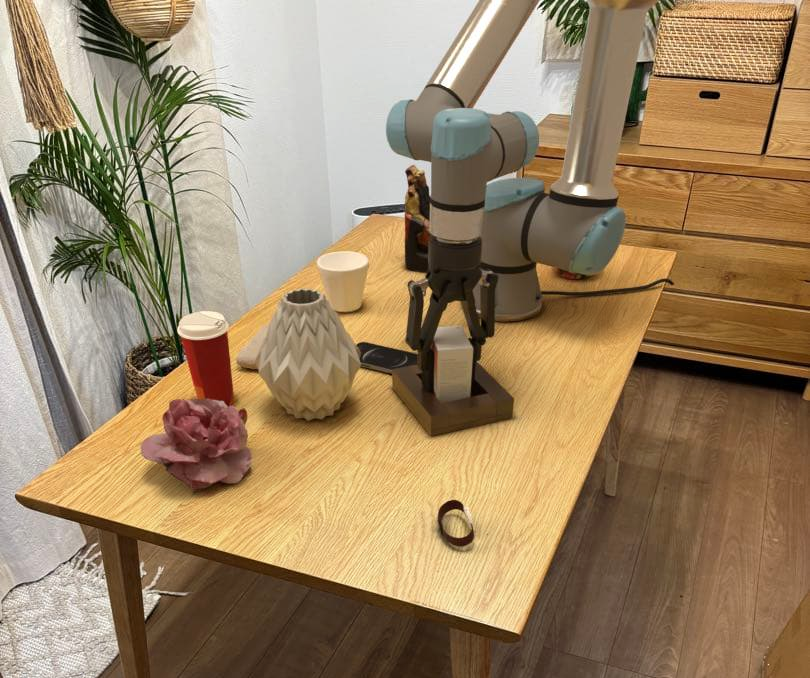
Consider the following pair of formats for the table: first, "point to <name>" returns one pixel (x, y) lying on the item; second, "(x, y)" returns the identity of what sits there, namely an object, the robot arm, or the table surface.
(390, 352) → the smartphone
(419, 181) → the statue
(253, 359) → the washcloth
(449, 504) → the watch
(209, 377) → the paper cup
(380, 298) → the table surface
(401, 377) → the square wooden frame
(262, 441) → the table surface
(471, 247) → the robot arm
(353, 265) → the cup
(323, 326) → the vase
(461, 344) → the small box
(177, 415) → the flower
